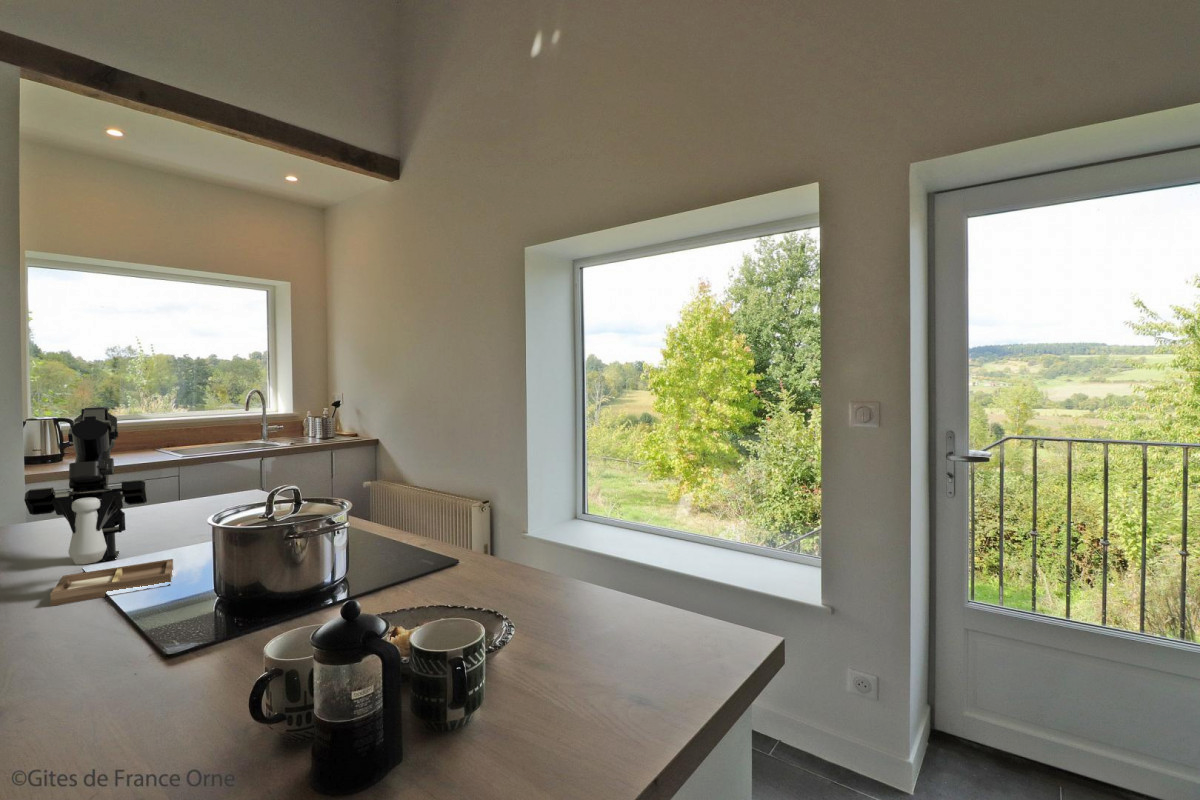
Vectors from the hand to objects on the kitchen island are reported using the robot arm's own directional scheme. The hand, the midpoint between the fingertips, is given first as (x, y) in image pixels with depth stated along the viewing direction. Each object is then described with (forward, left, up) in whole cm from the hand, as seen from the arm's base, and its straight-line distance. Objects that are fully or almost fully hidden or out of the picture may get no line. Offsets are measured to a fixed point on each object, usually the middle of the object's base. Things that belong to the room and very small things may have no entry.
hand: (86, 531), depth 115 cm
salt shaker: (-1, 0, -7) cm, 7 cm away
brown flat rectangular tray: (-1, +4, -13) cm, 13 cm away
